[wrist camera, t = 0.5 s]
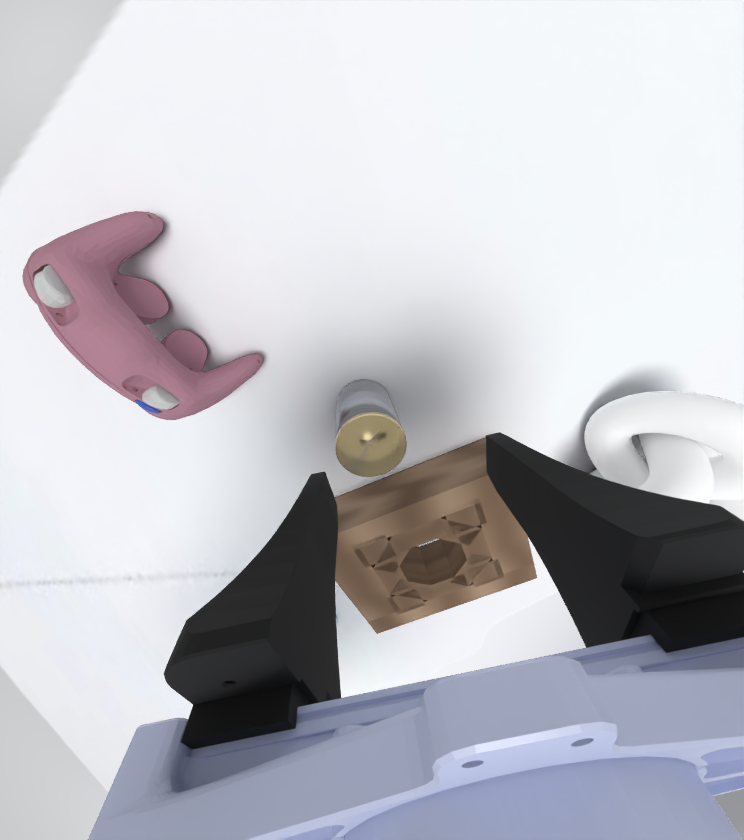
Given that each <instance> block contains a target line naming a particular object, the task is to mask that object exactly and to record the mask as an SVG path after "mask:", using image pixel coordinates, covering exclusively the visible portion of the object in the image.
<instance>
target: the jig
mask: <svg viewBox="0 0 744 840" xmlns="http://www.w3.org/2000/svg"><path fill="white" fill-rule="evenodd" d="M335 501H336V503H337V512H338V540H337V555H336V570H335V581H336V582H337V583H338V585H339V586H340V587H341V588H342V590H343V591H344V592H345V594H346V595H347V596H348V597H349V599H350V600H351V601H352V602H353V604H354V605H355V606H356V607H357V609H358V610H359V611H360V613H361V614H362V615H363V616H364V618H365V619H366V620H367V621H368V623H369V624H370V625H371V626H372V628H373V629H374V630H375V632H376V633H377V634H378V633H381V632H383V631H386V630H389V629H392V628H395V627H398V626H401V625H404V624H406V623H409V622H412V621H415V620H418V619H421V618H424V617H426V616H429V615H432V614H435V613H438V612H441V611H444V610H447V609H449V608H452V607H455V606H458V605H461V604H464V603H467V602H470V601H472V600H475V599H478V598H481V597H484V596H487V595H490V594H493V593H495V592H498V591H501V590H504V589H507V588H510V587H513V586H515V585H518V584H521V583H524V582H527V581H530V580H533V579H536V578H537V575H536V571H535V567H534V562H533V558H532V554H531V549H530V545H529V541H528V536H527V534H526V533H525V531H524V530H523V528H522V527H521V526H520V524H519V523H518V521H517V520H516V518H515V517H514V516H513V514H512V513H511V511H510V510H509V508H508V507H507V506H506V504H505V503H504V501H503V500H502V498H501V497H500V496H499V494H498V493H497V491H496V489H495V487H494V485H493V484H492V482H491V480H490V478H489V476H488V474H487V468H486V438H483V439H481V440H478V441H476V442H473V443H471V444H468V445H466V446H463V447H461V448H458V449H456V450H453V451H451V452H448V453H446V454H443V455H441V456H438V457H436V458H433V459H431V460H428V461H426V462H423V463H421V464H418V465H416V466H413V467H411V468H408V469H406V470H403V471H401V472H398V473H396V474H393V475H391V476H388V477H386V478H383V479H381V480H378V481H376V482H373V483H371V484H368V485H366V486H363V487H361V488H358V489H356V490H353V491H351V492H348V493H346V494H343V495H341V496H338V497H336V498H335ZM436 538H438V539H441V540H438V541H436V542H433V543H430V544H428V545H425V546H422V547H420V548H419V547H415V546H418V545H420V544H423V543H426V542H428V541H431V540H434V539H436Z"/></svg>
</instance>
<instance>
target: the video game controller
mask: <svg viewBox="0 0 744 840" xmlns="http://www.w3.org/2000/svg"><path fill="white" fill-rule="evenodd" d="M162 230H163V222H162V220H161V219H160V218H159V217H158V216H157V215H155V214H152V213H149V212H138V211H135V212H128V213H123V214H120V215H117V216H114V217H111V218H108V219H104V220H101V221H98V222H96V223H93V224H90V225H87V226H85V227H82V228H80V229H78V230H75V231H73V232H70V233H68V234H66V235H63V236H61V237H59V238H57V239H55V240H53V241H51V242H50V243H48V244H46V245H44V246H42V247H40V248H38V249H36V250H35V251H34V252H33V253H32V254H31V256H30V258H29V259H28V262H27V264H26V266H25V268H24V271H23V283H24V286H25V288H26V290H27V292H28V294H29V296H30V297H31V298H32V299H33V301H34V302H35V303H36V304H37V305H38V307H39V309H40V312H41V313H42V315H43V317H44V319H45V320H46V322H47V323H48V325H49V326H50V328H51V329H52V331H53V332H54V334H55V335H56V336H57V337H58V339H59V340H60V341H61V342H62V343H63V344H64V346H65V347H66V348H67V349H68V350H69V351H70V352H71V353H72V354H73V355H74V356H75V357H76V358H77V359H78V360H79V361H80V362H81V363H82V364H83V365H84V366H85V367H86V368H87V369H88V370H89V371H91V372H92V373H93V374H94V375H95V376H96V377H97V378H99V379H100V380H101V381H103V382H104V383H105V384H107V385H108V386H110V387H111V388H112V389H114V390H115V391H117V392H118V393H120V394H121V395H123V396H124V397H126V398H128V399H130V400H131V401H133V402H135V403H137V404H138V405H139V406H140V407H142V408H143V409H144V410H145V411H146V412H148V413H149V414H151V415H153V416H155V417H158V418H161V419H166V420H176V419H180V418H183V417H187V416H190V415H194V414H196V413H198V412H200V411H202V410H205V409H207V408H209V407H211V406H212V405H214V404H216V403H218V402H219V401H221V400H222V399H224V398H225V397H227V396H228V395H229V394H231V393H232V392H233V391H234V390H236V389H237V388H238V387H239V386H241V385H242V384H243V383H244V382H246V381H247V380H248V379H249V378H251V377H252V376H253V375H254V374H255V373H256V372H257V371H258V369H259V368H260V367H261V365H262V362H263V357H262V356H261V355H259V354H251V355H248V356H244V357H241V358H239V359H236V360H234V361H231V362H229V363H227V364H224V365H222V366H220V367H218V368H216V369H214V370H210V371H205V372H203V371H202V369H203V365H204V363H205V360H206V358H207V353H208V352H207V348H206V346H205V344H204V342H203V341H202V340H201V339H200V338H199V337H198V336H196V335H195V334H193V333H192V332H190V331H187V330H177V331H174V332H173V333H171V334H170V335H168V336H167V337H166V338H164V339H163V340H162V341H161V343H160V342H159V340H158V339H157V338H156V337H155V336H154V335H153V333H152V332H151V331H150V330H149V329H148V328H147V327H146V326H145V324H151V323H153V322H155V321H157V320H158V319H160V318H162V317H163V316H164V315H165V314H166V313H167V312H168V308H169V306H168V302H167V299H166V297H165V295H164V294H163V292H162V291H161V290H160V289H159V288H158V287H157V286H156V285H154V284H153V283H151V282H149V281H147V280H144V279H140V278H135V277H129V276H125V275H121V274H119V273H118V269H119V267H120V266H121V265H122V264H123V263H124V261H125V260H126V259H127V258H129V257H131V256H132V255H134V254H135V253H137V252H138V251H140V250H141V249H143V248H145V247H146V246H147V245H149V244H150V243H151V242H152V241H153V240H155V239H156V238H157V236H158V235H159V234H160V233H161V232H162Z"/></svg>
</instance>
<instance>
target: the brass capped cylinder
mask: <svg viewBox="0 0 744 840" xmlns="http://www.w3.org/2000/svg"><path fill="white" fill-rule="evenodd" d="M405 451H406V438H405V435H404V432H403V430H402V427H401V425H400V422H399V420H398V417H397V415H396V412H395V410H394V407H393V405H392V402H391V400H390V397H389V395H388V393H387V391H386V390H385V388H384V387H383V386H382V385H380V384H379V383H377V382H375V381H372V380H367V379H361V380H356V381H353V382H351V383H349V384H347V385H346V386H345V387H344V388H343V389H342V390H341V392H340V393H339V395H338V398H337V403H336V455H337V458H338V460H339V462H340V463H341V465H342V466H343V467H344V468H345V469H347V470H348V471H350V472H351V473H353V474H356V475H359V476H366V477H372V476H378V475H382V474H385V473H387V472H389V471H391V470H392V469H393V468H395V467H396V466H397V465H398V464H399V463H400V462H401V460H402V458H403V457H404V454H405Z"/></svg>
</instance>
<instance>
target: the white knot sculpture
mask: <svg viewBox="0 0 744 840" xmlns="http://www.w3.org/2000/svg"><path fill="white" fill-rule="evenodd" d="M636 434H639V438H640V442H641V446H642V450H643V453H644V455H645V458H642V457H641V456H640V454H639V453H638V452H637V450H636V449H635V447H634V445H633V443H632V436H633V435H636ZM584 438H585V446H586V449H587V452H588V455H589V457H590V459H591V461H592V462H593V464H594V465H595V467H596V468H597V469H596V470H595V471H593V472H591V473H590V474H591V475H594V476H597V477H600V478H603V479H606V480H609V481H612V482H616V483H619V484H622V485H626V486H629V487H633V488H637V489H640V490H644V491H648V492H653V493H657V494H661V495H666V496H670V497H675V498H680V499H685V500H691V501H696V502H702V503H707V504H713V505H718V506H721V507H723V508H725V509H726V510H728V511H729V512H731V513H732V514H734V515H735V516H737V517H738V518H740V519H741V520H743V521H744V405H742V404H739V403H735V402H732V401H729V400H726V399H722V398H719V397H714V396H709V395H703V394H698V393H691V392H677V391H655V392H644V393H638V394H632V395H628V396H625V397H622V398H619V399H616V400H614V401H611V402H609V403H607V404H606V405H604V406H602V407H601V408H599V409H598V410H597V411H596V412H595V413H594V414H593V415H592V416H591V417H590V419H589V421H588V423H587V425H586V428H585V433H584ZM719 453H720V454H721V456H720V454H719Z"/></svg>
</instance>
